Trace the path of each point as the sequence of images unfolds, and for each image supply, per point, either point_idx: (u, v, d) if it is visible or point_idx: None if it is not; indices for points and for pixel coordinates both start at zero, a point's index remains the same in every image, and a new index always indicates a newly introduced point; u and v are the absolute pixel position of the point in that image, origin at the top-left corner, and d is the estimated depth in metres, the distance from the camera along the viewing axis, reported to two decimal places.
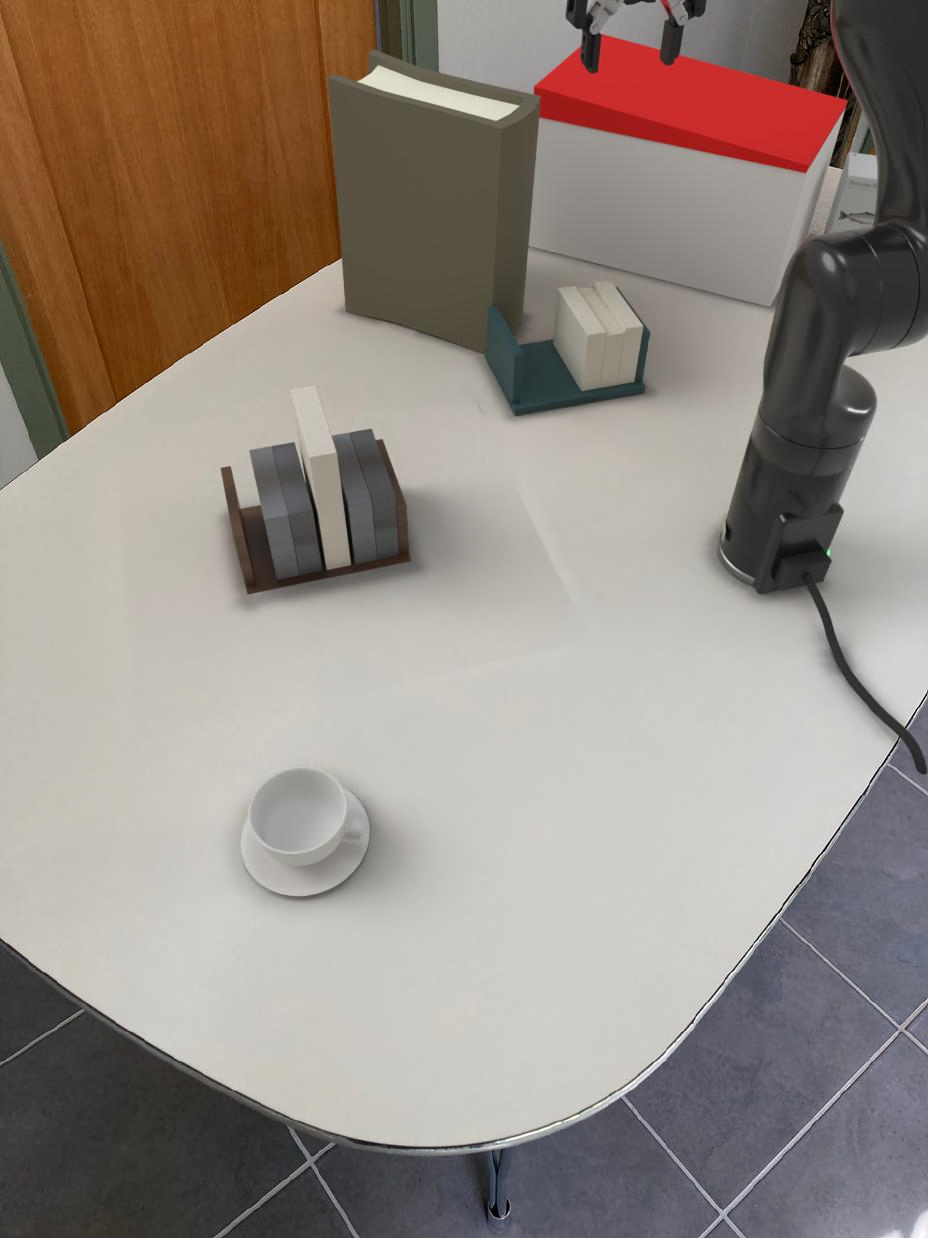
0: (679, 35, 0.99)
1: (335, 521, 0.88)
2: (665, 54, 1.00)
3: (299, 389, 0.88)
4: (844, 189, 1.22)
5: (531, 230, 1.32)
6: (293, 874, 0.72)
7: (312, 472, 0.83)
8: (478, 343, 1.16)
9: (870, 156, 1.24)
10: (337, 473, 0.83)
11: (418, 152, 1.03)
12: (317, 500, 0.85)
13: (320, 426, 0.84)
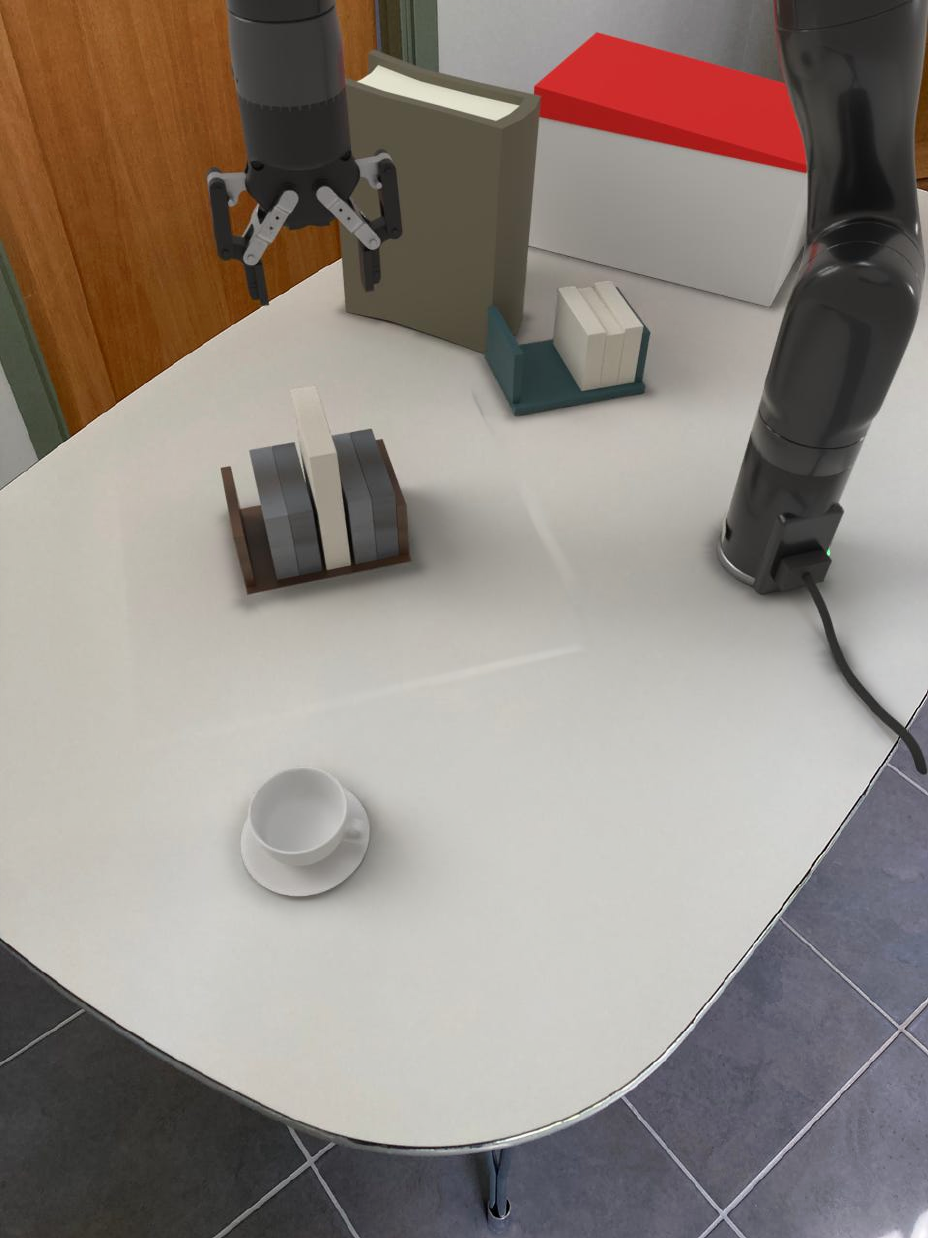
0: (375, 259, 0.76)
1: (335, 521, 0.88)
2: (363, 279, 0.78)
3: (299, 389, 0.88)
4: None
5: (531, 230, 1.32)
6: (293, 874, 0.72)
7: (312, 472, 0.83)
8: (478, 343, 1.16)
9: None
10: (337, 473, 0.83)
11: (418, 152, 1.03)
12: (317, 500, 0.85)
13: (320, 426, 0.84)
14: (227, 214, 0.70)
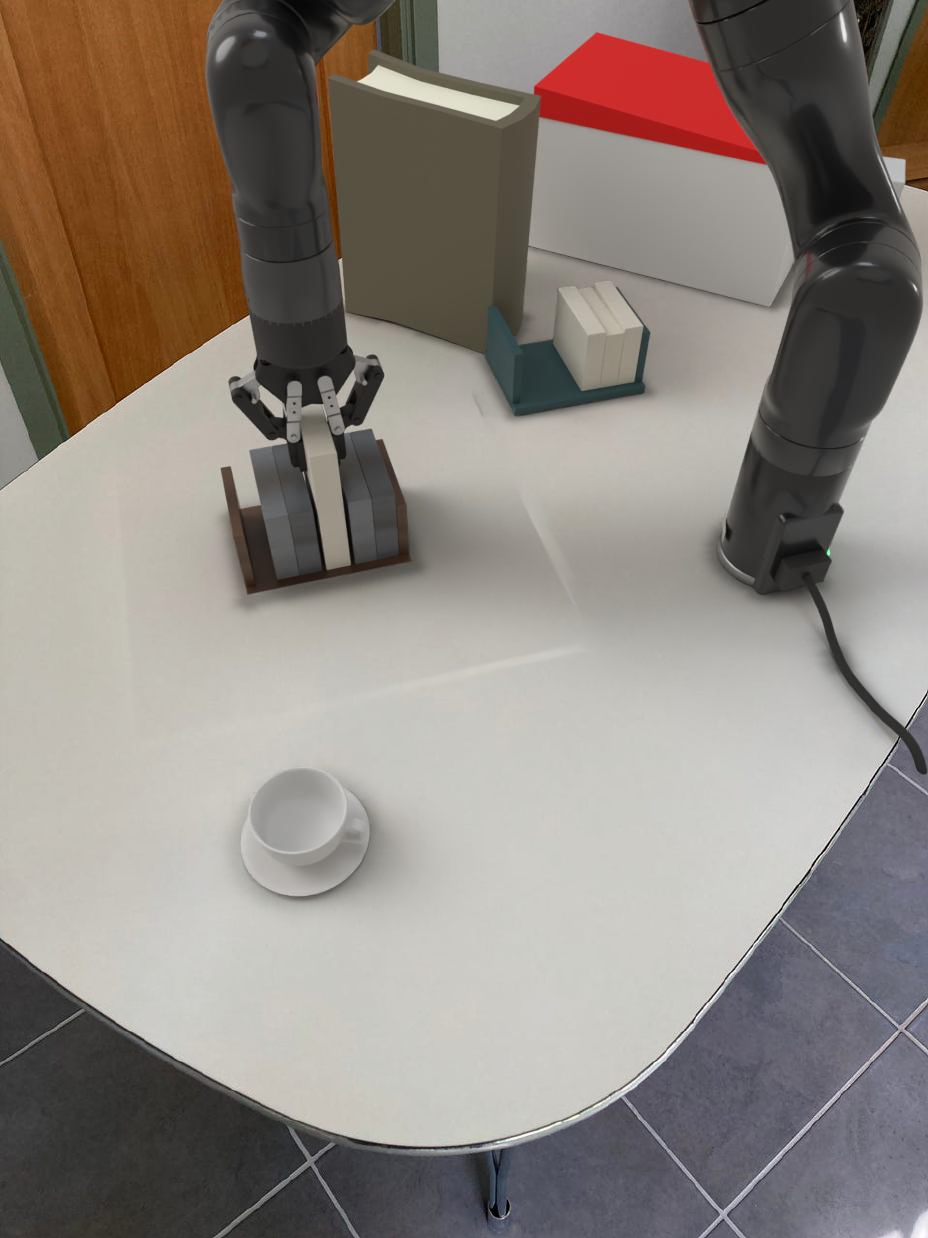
0: (340, 440, 0.86)
1: (335, 521, 0.88)
2: None
3: None
4: None
5: (531, 230, 1.32)
6: (293, 874, 0.72)
7: (312, 472, 0.83)
8: (478, 343, 1.16)
9: None
10: (337, 473, 0.83)
11: (418, 152, 1.03)
12: (317, 500, 0.85)
13: (319, 426, 0.84)
14: (256, 410, 0.81)
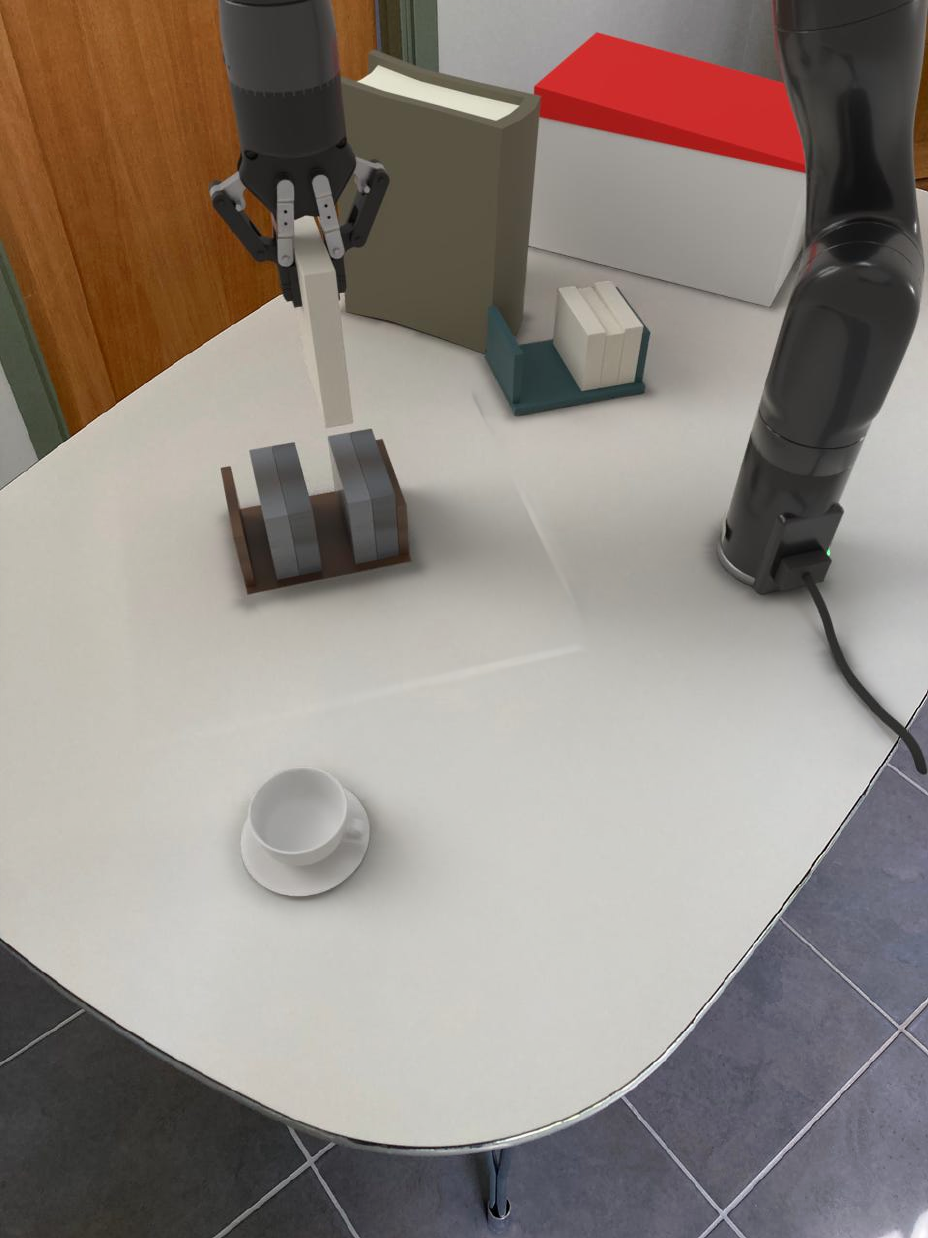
0: (339, 268, 0.75)
1: (335, 364, 0.76)
2: None
3: None
4: None
5: (531, 230, 1.32)
6: (293, 874, 0.72)
7: (307, 296, 0.71)
8: (478, 343, 1.16)
9: None
10: (336, 299, 0.72)
11: (418, 152, 1.03)
12: (313, 334, 0.74)
13: (315, 246, 0.73)
14: (241, 219, 0.70)
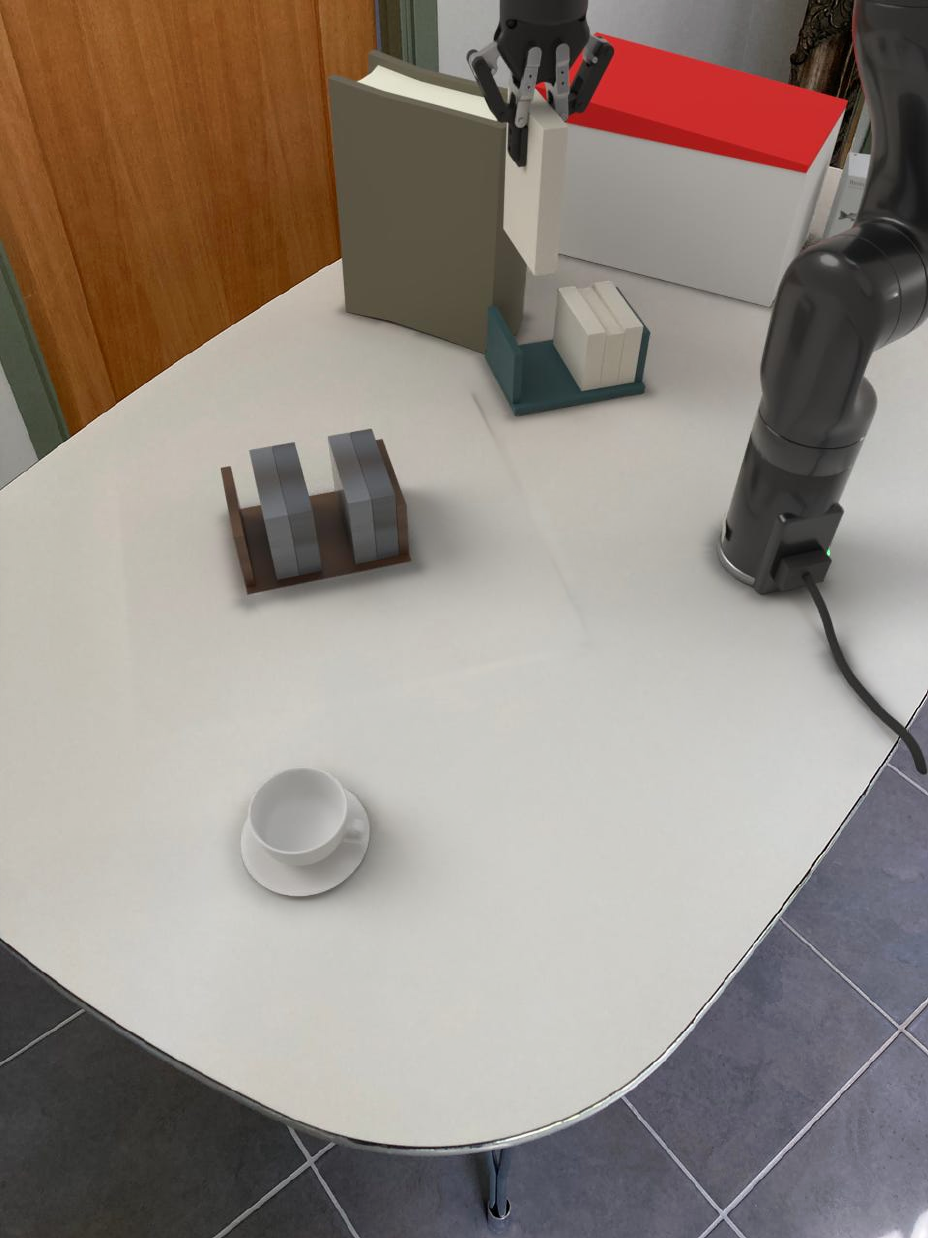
0: None
1: (552, 214, 0.90)
2: None
3: None
4: (844, 189, 1.22)
5: None
6: (293, 874, 0.72)
7: (542, 149, 0.85)
8: (478, 343, 1.16)
9: None
10: (564, 153, 0.86)
11: (418, 152, 1.03)
12: (541, 185, 0.88)
13: (545, 109, 0.87)
14: (494, 82, 0.84)
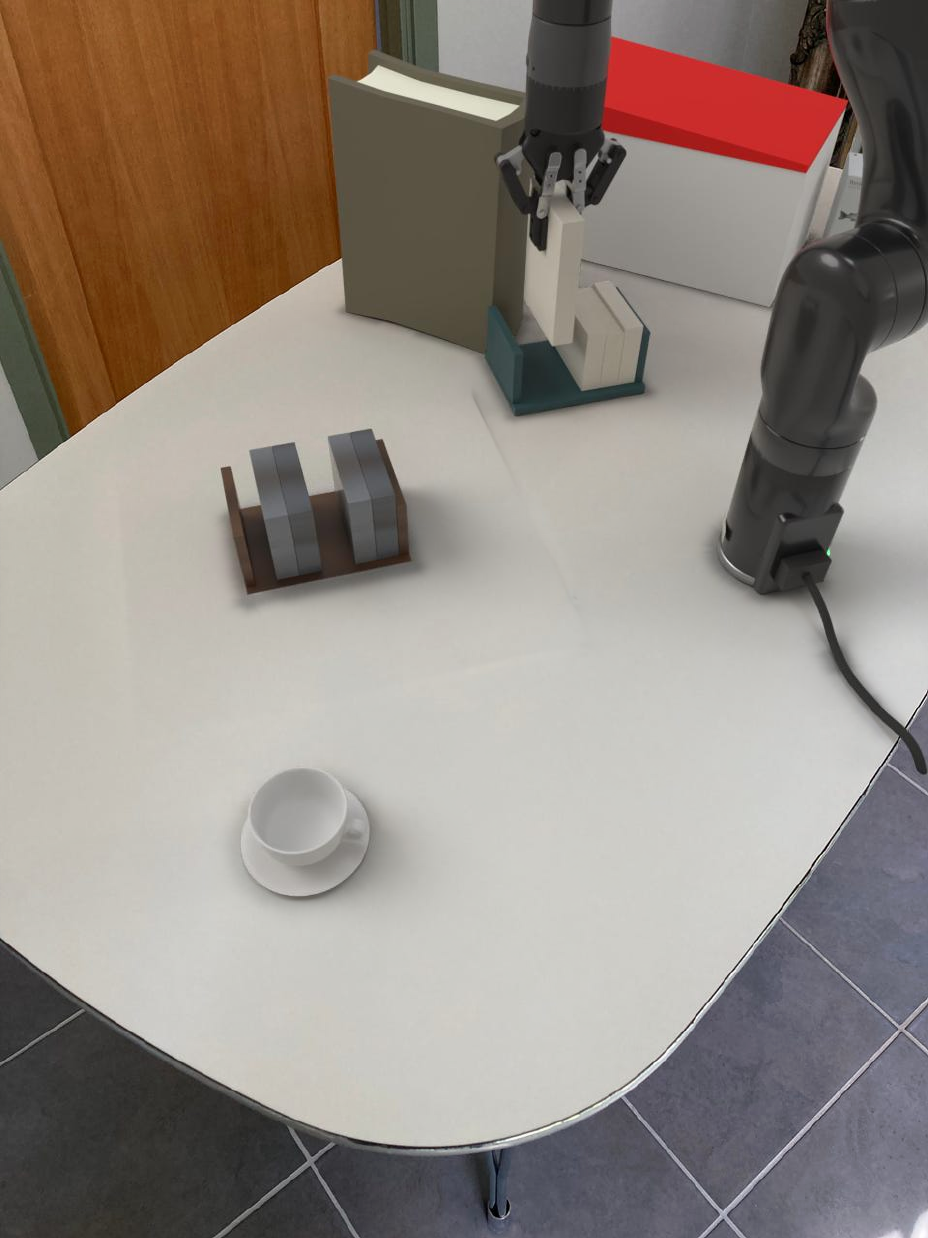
0: None
1: (569, 294, 1.00)
2: None
3: None
4: (844, 189, 1.22)
5: None
6: (293, 874, 0.72)
7: (561, 239, 0.95)
8: (478, 343, 1.16)
9: None
10: (581, 242, 0.96)
11: (418, 152, 1.03)
12: (559, 269, 0.98)
13: (564, 202, 0.97)
14: (518, 181, 0.93)
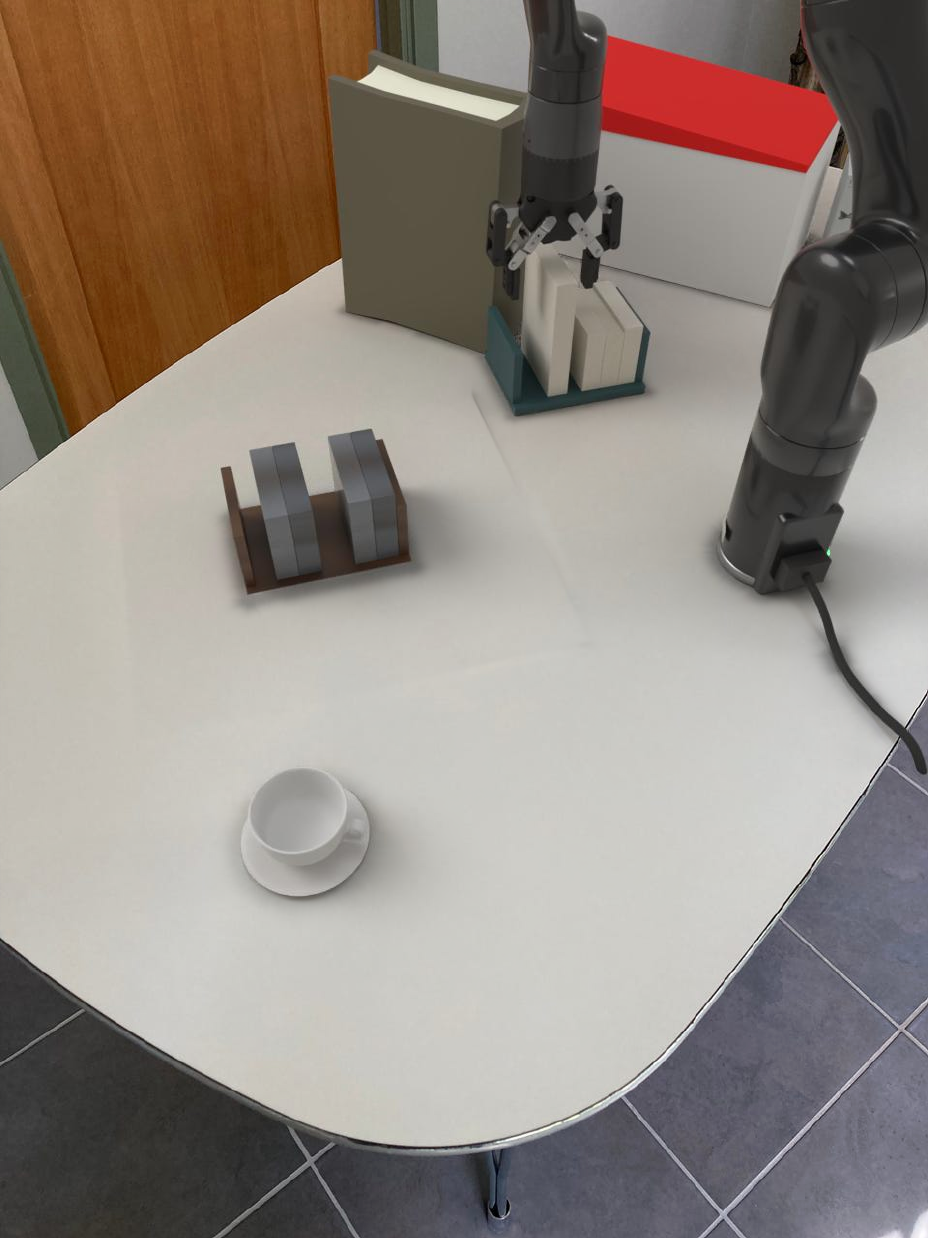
0: (596, 264, 1.03)
1: (564, 349, 1.05)
2: (584, 279, 1.05)
3: None
4: (844, 189, 1.22)
5: None
6: (293, 874, 0.72)
7: (556, 300, 1.00)
8: (478, 343, 1.16)
9: None
10: (574, 302, 1.01)
11: (418, 152, 1.03)
12: (554, 327, 1.03)
13: (559, 264, 1.02)
14: (504, 233, 0.97)
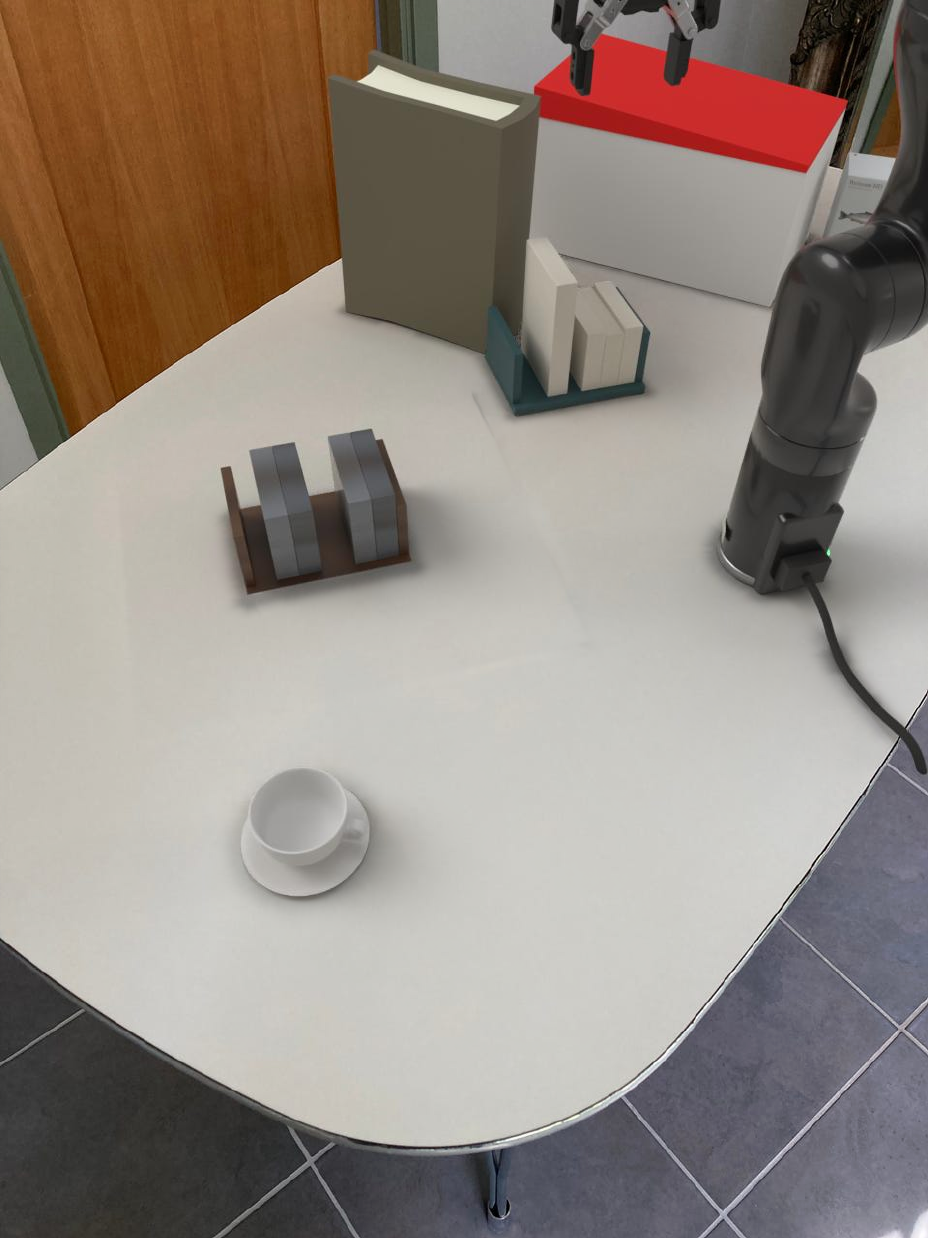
0: (686, 50, 0.83)
1: (564, 349, 1.05)
2: (670, 73, 0.85)
3: (534, 239, 1.05)
4: (844, 189, 1.22)
5: (531, 230, 1.32)
6: (293, 874, 0.72)
7: (556, 300, 1.00)
8: (478, 343, 1.16)
9: (870, 156, 1.24)
10: (574, 302, 1.01)
11: (418, 152, 1.03)
12: (554, 327, 1.03)
13: (559, 264, 1.02)
14: None
